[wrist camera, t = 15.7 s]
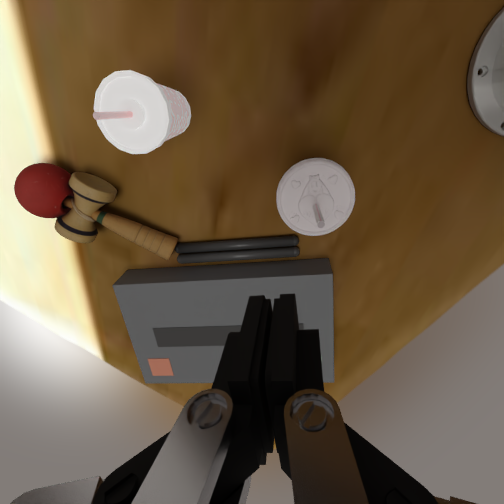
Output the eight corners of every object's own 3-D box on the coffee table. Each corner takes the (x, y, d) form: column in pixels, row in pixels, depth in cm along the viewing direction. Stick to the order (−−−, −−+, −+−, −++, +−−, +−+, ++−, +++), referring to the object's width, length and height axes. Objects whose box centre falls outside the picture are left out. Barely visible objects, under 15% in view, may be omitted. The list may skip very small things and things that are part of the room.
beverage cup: (183, 154, 35) (123, 181, 22) (132, 123, 34) (40, 133, 21) (208, 101, 32) (157, 97, 19) (154, 66, 31) (64, 39, 19)
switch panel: (327, 231, 37) (332, 245, 33) (330, 359, 44) (334, 382, 41) (120, 246, 40) (103, 260, 37) (156, 362, 48) (145, 383, 44)
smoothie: (281, 208, 36) (279, 262, 23) (275, 150, 33) (268, 176, 21) (339, 201, 35) (368, 254, 22) (337, 141, 32) (369, 163, 20)
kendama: (192, 209, 39) (39, 137, 34) (179, 239, 34) (-1, 158, 29) (171, 252, 43) (33, 192, 39) (157, 284, 38) (-3, 220, 34)
